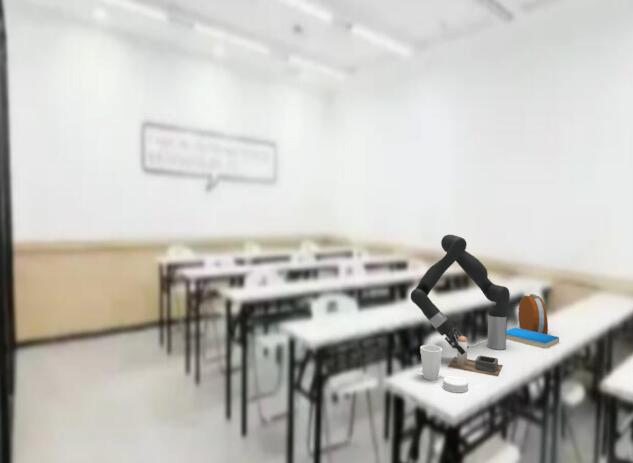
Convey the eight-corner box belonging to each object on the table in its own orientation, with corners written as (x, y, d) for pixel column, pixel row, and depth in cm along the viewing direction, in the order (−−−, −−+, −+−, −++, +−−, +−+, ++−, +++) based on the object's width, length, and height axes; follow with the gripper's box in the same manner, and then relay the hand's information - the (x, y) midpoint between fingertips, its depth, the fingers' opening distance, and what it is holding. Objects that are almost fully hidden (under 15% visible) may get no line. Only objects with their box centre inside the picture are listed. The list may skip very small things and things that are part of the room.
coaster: (457, 395, 179) (458, 386, 179) (437, 387, 187) (438, 378, 187) (473, 389, 185) (473, 381, 185) (453, 381, 193) (453, 373, 193)
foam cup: (438, 373, 202) (438, 344, 202) (444, 381, 193) (445, 351, 192) (417, 373, 202) (417, 344, 201) (422, 381, 193) (423, 351, 192)
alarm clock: (550, 337, 260) (552, 298, 258) (533, 336, 260) (535, 298, 259) (533, 326, 282) (534, 291, 280) (517, 326, 282) (518, 290, 281)
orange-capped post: (458, 361, 214) (458, 334, 213) (467, 363, 212) (468, 335, 211) (456, 364, 210) (456, 336, 210) (465, 366, 208) (466, 338, 207)
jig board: (454, 359, 221) (455, 348, 220) (502, 367, 210) (503, 356, 210) (446, 369, 207) (447, 358, 206) (497, 379, 196) (498, 367, 196)
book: (546, 342, 238) (500, 331, 257) (545, 350, 238) (500, 338, 257) (559, 336, 249) (515, 326, 268) (559, 344, 249) (514, 333, 268)
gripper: (443, 321, 207) (468, 350, 202) (450, 315, 220) (474, 342, 215) (431, 331, 210) (456, 360, 205) (439, 324, 223) (462, 351, 218)
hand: (465, 351), depth 210 cm, fingers open, 7 cm apart
